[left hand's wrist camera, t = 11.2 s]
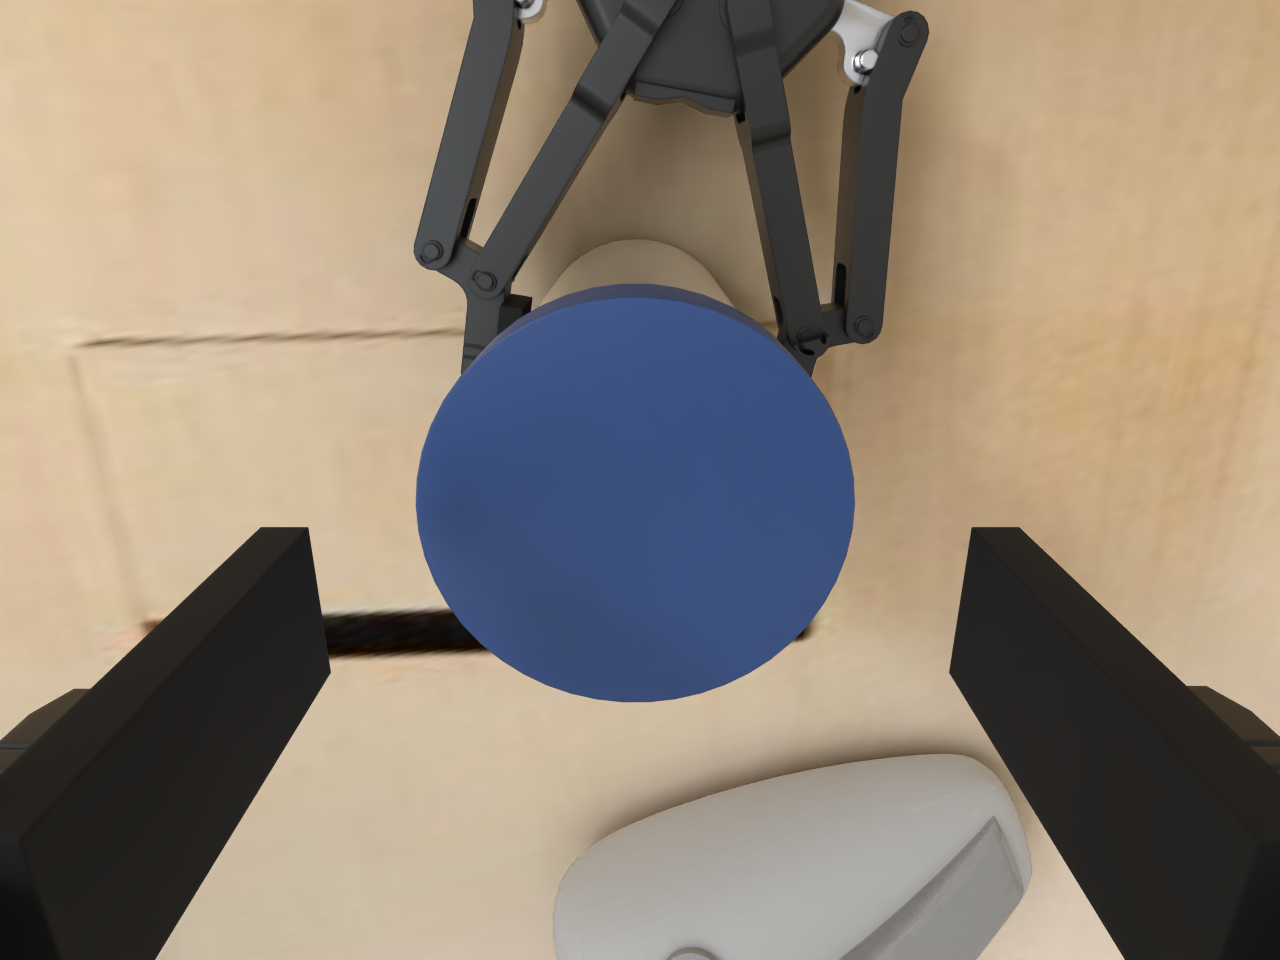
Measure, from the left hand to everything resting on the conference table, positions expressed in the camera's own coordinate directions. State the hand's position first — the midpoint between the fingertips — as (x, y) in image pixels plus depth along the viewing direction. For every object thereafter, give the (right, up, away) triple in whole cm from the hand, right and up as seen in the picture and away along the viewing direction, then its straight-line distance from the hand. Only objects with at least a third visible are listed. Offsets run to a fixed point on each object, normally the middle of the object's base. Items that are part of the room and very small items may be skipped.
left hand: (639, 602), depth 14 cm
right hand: (-1, +1, +17) cm, 17 cm away
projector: (+8, -18, +31) cm, 37 cm away
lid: (0, +1, +4) cm, 4 cm away
